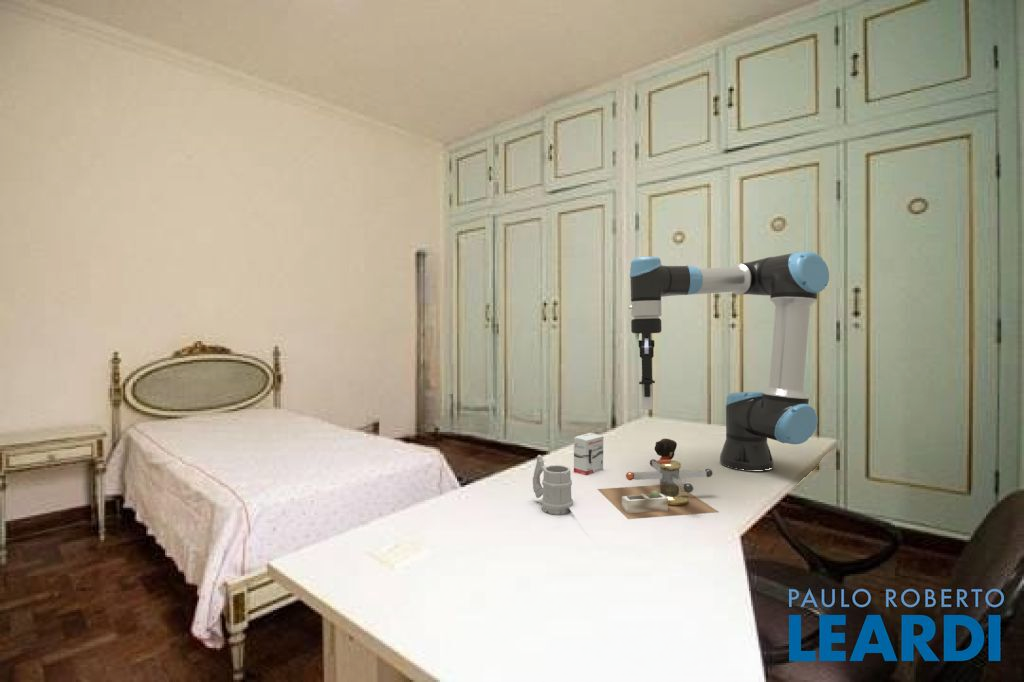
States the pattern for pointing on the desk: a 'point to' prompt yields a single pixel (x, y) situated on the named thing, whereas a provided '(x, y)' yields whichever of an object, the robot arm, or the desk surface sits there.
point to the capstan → (671, 479)
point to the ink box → (588, 453)
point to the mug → (553, 487)
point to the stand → (651, 502)
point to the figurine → (665, 449)
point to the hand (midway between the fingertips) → (647, 408)
